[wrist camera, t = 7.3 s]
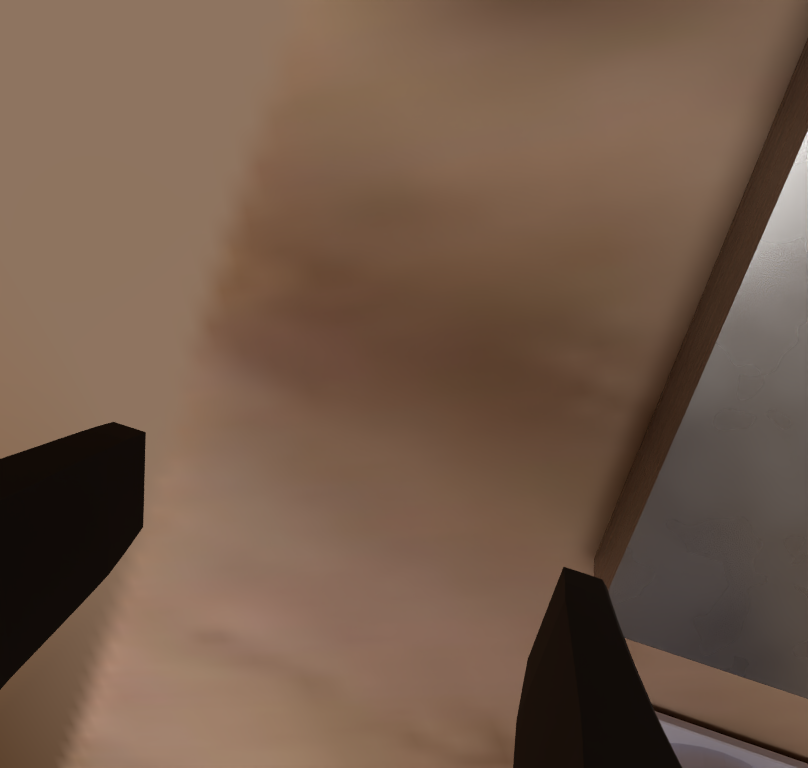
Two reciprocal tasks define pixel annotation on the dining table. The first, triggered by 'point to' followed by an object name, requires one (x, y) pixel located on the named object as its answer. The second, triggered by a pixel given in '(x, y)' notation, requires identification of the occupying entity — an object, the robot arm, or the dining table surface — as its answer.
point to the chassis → (731, 448)
